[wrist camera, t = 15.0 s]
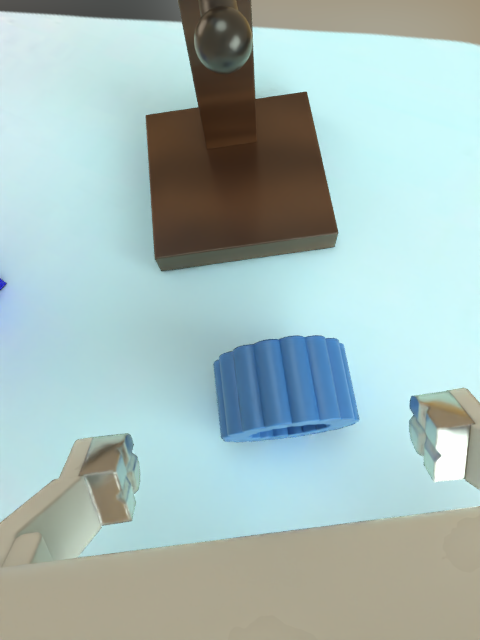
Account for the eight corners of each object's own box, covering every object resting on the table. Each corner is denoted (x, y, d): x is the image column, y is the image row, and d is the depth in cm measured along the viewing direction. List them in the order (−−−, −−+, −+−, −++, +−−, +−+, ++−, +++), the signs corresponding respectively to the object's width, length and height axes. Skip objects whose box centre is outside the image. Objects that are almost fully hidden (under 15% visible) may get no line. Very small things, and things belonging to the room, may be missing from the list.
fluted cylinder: (333, 432, 23) (383, 412, 18) (215, 446, 22) (228, 429, 17) (321, 367, 24) (364, 329, 19) (208, 377, 23) (219, 341, 18)
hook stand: (335, 248, 26) (432, -113, 10) (161, 273, 26) (-6, -45, 10) (305, 110, 30) (343, -319, 14) (151, 133, 30) (15, -265, 14)
